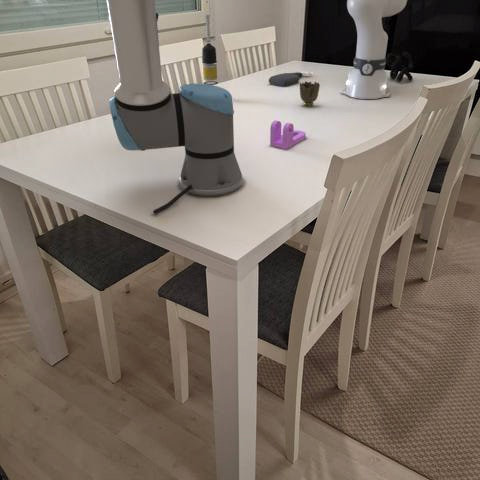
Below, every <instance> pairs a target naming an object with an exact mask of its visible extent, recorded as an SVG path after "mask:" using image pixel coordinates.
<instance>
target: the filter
mask: <svg viewBox="0 0 480 480" xmlns="http://www.w3.org/2000/svg"><path fill="white" fill-rule="evenodd" d="M210 17H211V14H204V18H205V27H206V29H205V30H206V31H205V33H206V39H207V40H206V42H207V43H206V45H204V46H202V49H201V50H202V51H201V52H202V54H201V55H202V57H201V58H202V61H201V63H202V71H203V72H202V73H203V74H202V75H203V80H204V82H203V84H208V85H214V86H215V85H217V84H219V82H218V81H216V80H218V64H216V63H218V61H217V48H216V47H215V46H214V45H212V43H210V42H211V40H210V39H211V31H210V29H211V28H210Z"/></svg>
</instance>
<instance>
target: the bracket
mask: <svg viewBox="0 0 480 480" xmlns="http://www.w3.org/2000/svg"><path fill="white" fill-rule="evenodd" d="M294 128H295V126H294V124H293V123H290V122H286V123H284V125H283V127H282V122H281V121H280V120H275V119H274V120H273V121H272V122H271V124H270V130H269V131H270V135H269V137H270V138H269V146H271V147H274V148H275V147H276V148H280V149H284V150H287V149H289V148H291V147H293V146H295V145H296V144H299V143H300V142H302V141H304V140H305V139H306V132H305V131H303V130H299V129H298V130H297V129H294Z"/></svg>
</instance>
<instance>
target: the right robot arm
mask: <svg viewBox="0 0 480 480" xmlns="http://www.w3.org/2000/svg"><path fill="white" fill-rule="evenodd" d="M346 1H347V2H346V8H347V11H348V12H347V13H349V15H350V16H351V18H352V19H353V21H354V23H355V28H356V34H357V39H356V51H355V57H353V58H354V59H353V68H352V70H350V71H349V72H348V77H347V81H346V83H345V85H346V88H345V89H342V91H341V94H342V95H346V96H348V97H350V98H354V99H360V100H377V99H382V98H390V97H391V93H390V91H389V89H388V74H387V72H386V71H385V68H386V64H387V61H386V56H387V55H386V54H387V48H388V40H389V36H388V34H387V32H386V31H385V30H384V27H383V21H382V19H383V18H388V17H392V16H394V15H397V14H398V13H400V12H403V10H404V9H405V7H406V5H407V2H408V0H346Z"/></svg>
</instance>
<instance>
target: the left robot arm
mask: <svg viewBox="0 0 480 480" xmlns="http://www.w3.org/2000/svg"><path fill="white" fill-rule="evenodd" d="M106 4H107V10H108V19H109V21H110V28H111V34H112V40H113V46H114V47H113V48H114V53H115V58H116V64H117V65H116V66H117V70H118V71H117V72H118V76H119V84H118V85H117V86H116V87H115V89H114V96H113V97H110V99H109V110H110V116H111V119H112V123H113V128H114V129H115V133H116V137H117V139H118V141H119V144H120V145H121V147H122V148H123V149H124V150H126V151H130V152H131V151H141V152H144V151H145V152H146V151H148V150H157V149H158V150H159V149H168V148H178V147H184V154H185V155H184V158H183V164H182V168H181V171H180V176H179V183H180V184H179V185H180V188H181V189H182V190H181V191H180V192H179V193H177V194H176V196H174V197H173V198H172V199H171V200H169V201H167V203H165V204H163V205H161V206H159V207H157V208H155V209H154V210H152V212H153V214H154V215H158V214H159V213H160V212H163V211H164V210H166V209H168V208H170V207H171V206H172V205H173V204H175V203H176V202H177V201H178V200H180V199H181V198H182V197H183V196H184V195H186V194H190V195H194V196H199V197H221V196H224V195H229V194H232V193H234V192H235V191H237V190H239V189H240V188H241V187H242V185H243V174H242V171H241V168H240V165H239V163H238V160H237V157H236V154H235V133H234V114H235V110H234V103H233V96H232V94H231V92H230V91H229V90H227V89H226V88H224V87H221V86H218V85H215V84H214V85H208V84H209V83H206V84H204V83H187V84H182V85H181V86H179V90H178V92H177V93H171V87H170V86H169V84H167V83H166V82H165V81H164V80H163V76H162V75H163V74H162V64H161V55H160V53H161V52H160V41H159V30H158V29H159V28H158V21H159V17H160V16H159V15H160V14H159V13H158V12H157V11H156V0H106Z"/></svg>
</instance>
